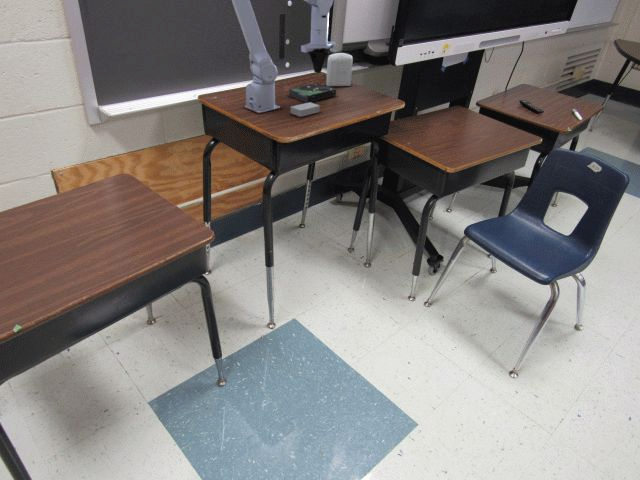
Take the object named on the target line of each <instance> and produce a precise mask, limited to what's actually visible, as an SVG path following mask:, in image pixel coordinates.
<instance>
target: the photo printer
mask: <svg viewBox="0 0 640 480" xmlns="http://www.w3.org/2000/svg"><path fill="white" fill-rule="evenodd" d="M353 61H354V59H353V55H351V54H349V53H346V52H335V53H331V54H330V55H329V54H328V56H327V63H326V65H327V66H326V81H325V83H326V84H325V86H328V87H350V86H351V84H352V82H351V81H352V74H353V73H352V72H353V64H354V63H353Z"/></svg>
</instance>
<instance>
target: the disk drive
mask: <svg viewBox="0 0 640 480" xmlns="http://www.w3.org/2000/svg"><path fill="white" fill-rule="evenodd" d="M336 95H337V89H336V88H335V87H332V86H327V85H322V84H321V83H313V84H312V83H311V84H307V85H302V86H298V87H293V88H289V90H288V96H289V97H291V98H293V99H297V100H300V101H302V102H305V103H309V102H311V103H312V102H317V101H319V100H320V101H321V100H323V99H328V98H332V97H335V96H336Z"/></svg>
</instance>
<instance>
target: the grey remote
mask: <svg viewBox="0 0 640 480" xmlns="http://www.w3.org/2000/svg"><path fill="white" fill-rule="evenodd" d="M320 111H321V105H319V104H317V103H313V102H312V101H311V102H305V103H301V104H296V105H292V106H290V114H291V115H295V116H297V117H299V118H302V117H305V116H310V115H313V114H317V113H320Z"/></svg>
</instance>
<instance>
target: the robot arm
mask: <svg viewBox="0 0 640 480" xmlns="http://www.w3.org/2000/svg"><path fill="white" fill-rule="evenodd" d="M302 1H304V2H305V3H307V4H309V5H310V6H311V13H310V42H309V43H306V44H302V45H300V52H301V53H304V54H306V53H307V54H308V55H309V57H310V60H311V63H312V66H313V72H314V73H316V74H321V73H322V70H323V66H324V64H325V61H326V59H327V58H328V56H329V54H330V51H329V50H328V49H336V44H337V43H336V41H329V40H328V39H329V38H328V37H329V22H330V21H329V18H330V9H331V7H332V6H333V4H334V0H302ZM231 2H232V5H233V9H234V12H235V15H236V17H237V20H238V23H239V25H240V29H241V31H242V35H243V37H244V40H245V43H246V46H247V48H248V51H249V55H248V59H249V65H250V66H249V69H250V72H251V74H252V75H253V77H252V82H250V83H248V84H247V85H246V87H245V106H244V108H245V109H248V110H250V111H252V112H255V113H258V114H262V113H266V112H270V111H274V110H279V109H281V106H280V105H277V104H276V79H277V77H278V74H279V70H278V67H277V66H276V65H275V63H274V62H273V60H272V58H271V56H270V54H269V52H268V50H267V49H266V46H265V44H264V43H265V42H264V39H263V37H262V34H261V31H260V27H259V24H258V22H257V18H256V15H255V12H254V9H253V6H252V3H251V0H231Z"/></svg>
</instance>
